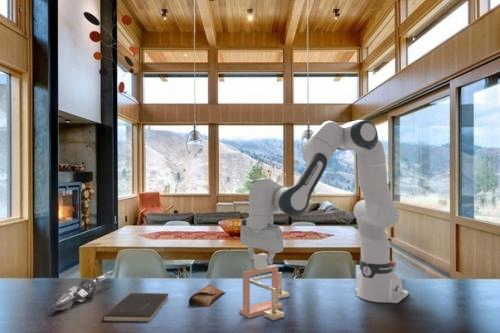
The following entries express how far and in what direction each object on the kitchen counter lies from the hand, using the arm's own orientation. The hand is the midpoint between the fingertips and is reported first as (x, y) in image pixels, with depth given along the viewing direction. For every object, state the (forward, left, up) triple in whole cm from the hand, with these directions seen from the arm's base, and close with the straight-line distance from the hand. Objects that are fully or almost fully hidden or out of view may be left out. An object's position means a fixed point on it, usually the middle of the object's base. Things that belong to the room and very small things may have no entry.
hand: (261, 261), depth 127 cm
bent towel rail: (-8, 0, -18) cm, 19 cm away
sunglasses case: (+8, -22, -18) cm, 30 cm away
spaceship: (+45, -53, -18) cm, 72 cm away
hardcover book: (+34, -29, -18) cm, 48 cm away
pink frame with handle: (0, 0, -18) cm, 18 cm away
